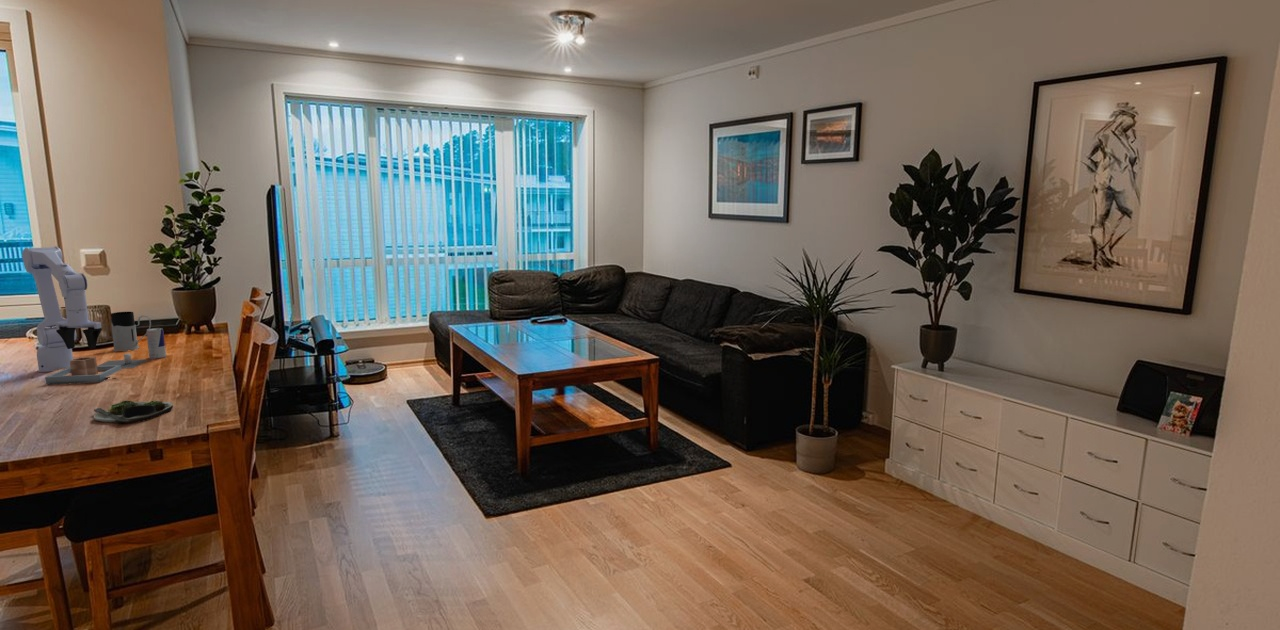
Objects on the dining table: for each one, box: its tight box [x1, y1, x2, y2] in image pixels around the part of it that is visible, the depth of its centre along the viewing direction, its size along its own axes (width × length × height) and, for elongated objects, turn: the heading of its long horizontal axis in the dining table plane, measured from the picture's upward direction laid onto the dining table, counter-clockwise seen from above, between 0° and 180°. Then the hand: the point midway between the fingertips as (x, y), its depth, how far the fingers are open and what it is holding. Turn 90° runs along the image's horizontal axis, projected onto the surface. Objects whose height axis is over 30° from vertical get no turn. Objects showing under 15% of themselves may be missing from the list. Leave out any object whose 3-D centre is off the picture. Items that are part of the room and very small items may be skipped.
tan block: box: [70, 356, 99, 376], centre depth 238 cm, size 5×7×6 cm
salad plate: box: [93, 400, 174, 424], centre depth 200 cm, size 19×18×5 cm
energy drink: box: [145, 327, 167, 360], centre depth 264 cm, size 5×5×12 cm
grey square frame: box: [44, 365, 123, 385], centre depth 238 cm, size 16×14×2 cm
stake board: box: [97, 353, 152, 370], centre depth 253 cm, size 14×14×4 cm
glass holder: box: [110, 311, 152, 352], centre depth 281 cm, size 9×14×15 cm, turn 104°
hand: (81, 348), depth 236 cm, fingers open, 7 cm apart
